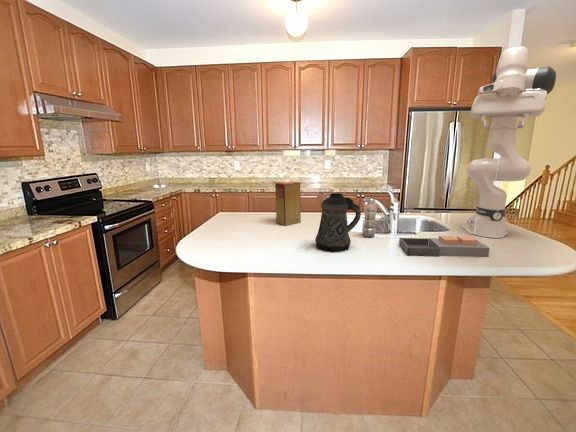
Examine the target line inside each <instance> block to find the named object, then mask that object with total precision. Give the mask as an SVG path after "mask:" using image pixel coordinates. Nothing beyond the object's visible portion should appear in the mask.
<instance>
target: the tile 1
mask: <svg viewBox="0 0 576 432" xmlns="http://www.w3.org/2000/svg"><path fill="white" fill-rule="evenodd" d="M438 238H439V241H440V242H441V243H443V244H444V245H459V240H458V239H457V238H456V236H454V235H438Z"/></svg>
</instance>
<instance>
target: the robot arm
mask: <svg viewBox="0 0 576 432" xmlns="http://www.w3.org/2000/svg"><path fill="white" fill-rule="evenodd" d="M556 82H557V71H556V70H555V69H554V68H552V67H551V66H549V65H548V66H547V65H546V66H542V67H538V68H529V49H528V47H526V46H522V45H518V46H513V47H512V46H511V47H509V48H506V49H504V50H503V51H502V52H501V54H500V57H499V60H498V63H497V67H496V71H495V72H494V73H493V75H492V76H491V83H490V84H487V85H483V86H480V88H479V89H478V93H477V96H476V97H475V98H474V100H473V102H472V104H471V110H470V117H471V119H474V120H475V119H481V120H480V121H481V122H482V124H483V130H488V129H490V130H489V134H488V142H487V148H488V149H489V150H490V151H491V152H493V153H495V154H497V155H499V156H500V158H478V159H473V160H472V161H470V162H469V164H468V165H467V168H466V173H467V175H468V177H469V178H470V179H472V180H473V181H474V182H475V183H476V185H477V186H478V190H479V205H478V206H477V207H476V211H475V213H474V214H472V216H469V217H468V219H466V224H464V225H462V229H464V231H465V232H466V233H467V234H468V235H472V236H479V237H483V238H491V239H492V238H493V239H494V238H495V239H499V238H501V239H502V238H504V237H505V236H508V232H507V231H506V230H507V219H506V218H505V216H506V212H507V211H506V203H507V197H508V194H507V192H506V191H505V190H504V189H502V188H500V187H498V186H496V185H495V184H494V182H520V181H525V180H526V179H527V178H528V177H529V176H530V173H531V171H532V170H531V167H532V166H531V163H529V161H528V160H526V159H524V158H523V157H522V156H521V155H520V154H519V152H518V150H517V146H516V143H517V132H518V129H524V125H525V123H526V122H527V121H528V120H529V118H531V117H540V116H541V115H543V113H544V110H545V105H546V102H545V101H546V99H547V96H548V95H549V94H551V92H552V91H553V89H554V88H555V86H556ZM518 118H522V120H519V121H518ZM487 119H492V121H491V125H490V122H489V121H487ZM489 126H490V127H489Z"/></svg>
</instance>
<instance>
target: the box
mask: <svg viewBox="0 0 576 432" xmlns="http://www.w3.org/2000/svg"><path fill="white" fill-rule="evenodd" d="M398 245H399V247H400V249H402V250H403V252H404V253H405V254H407V255H406V256H412V257H413V256H415V257H440V256H439V253H440V248H431V247H430V246H429V238H426V237H425V238H424V237H423V238H422V237H421V238H418V237H416V238H415V237H399V242H398Z"/></svg>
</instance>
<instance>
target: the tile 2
mask: <svg viewBox="0 0 576 432" xmlns="http://www.w3.org/2000/svg"><path fill="white" fill-rule="evenodd" d="M455 238H457V239H458V240H459V243H460V244H462V245H477V242H478V241H479V240H478V239H476V238H474V237H473V236H471V235H456V236H455Z"/></svg>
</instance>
